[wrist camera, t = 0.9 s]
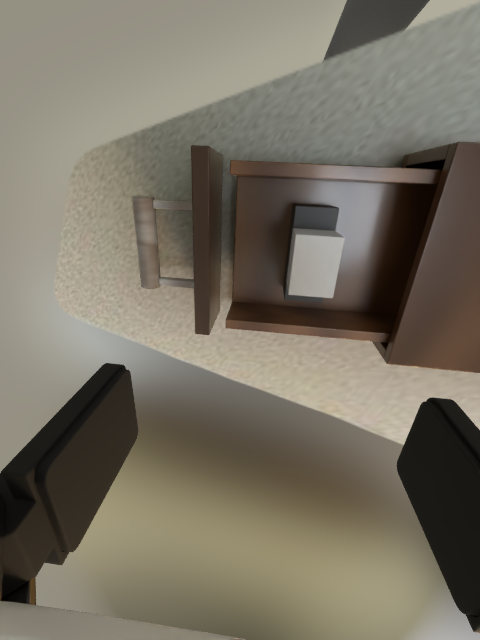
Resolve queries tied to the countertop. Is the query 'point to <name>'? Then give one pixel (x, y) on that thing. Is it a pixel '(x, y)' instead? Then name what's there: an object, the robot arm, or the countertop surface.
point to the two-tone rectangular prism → (312, 253)
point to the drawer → (273, 234)
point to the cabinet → (443, 270)
